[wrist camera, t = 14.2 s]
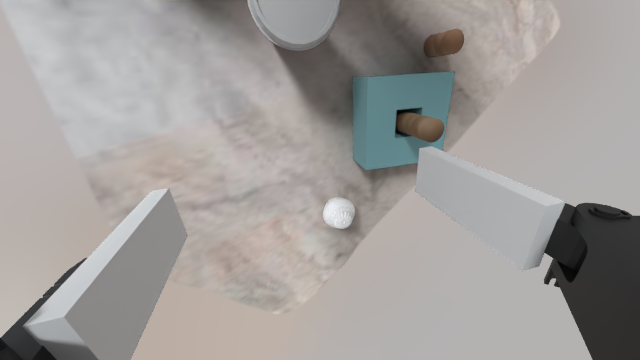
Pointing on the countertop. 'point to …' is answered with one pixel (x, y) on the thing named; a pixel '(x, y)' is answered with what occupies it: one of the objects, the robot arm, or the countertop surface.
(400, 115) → the tall pin
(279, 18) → the disposable coffee cup
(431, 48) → the short pin
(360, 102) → the hole block
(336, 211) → the white ribbed jar
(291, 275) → the countertop surface
